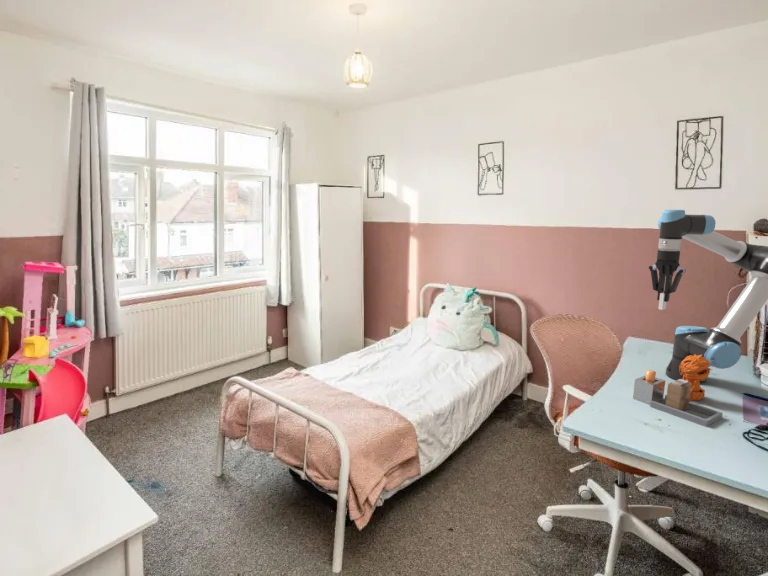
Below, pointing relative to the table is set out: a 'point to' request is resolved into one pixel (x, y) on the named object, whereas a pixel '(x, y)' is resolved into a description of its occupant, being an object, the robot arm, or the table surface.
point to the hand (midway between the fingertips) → (661, 309)
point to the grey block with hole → (648, 390)
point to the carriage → (678, 394)
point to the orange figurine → (695, 374)
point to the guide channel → (705, 422)
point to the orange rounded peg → (650, 376)
